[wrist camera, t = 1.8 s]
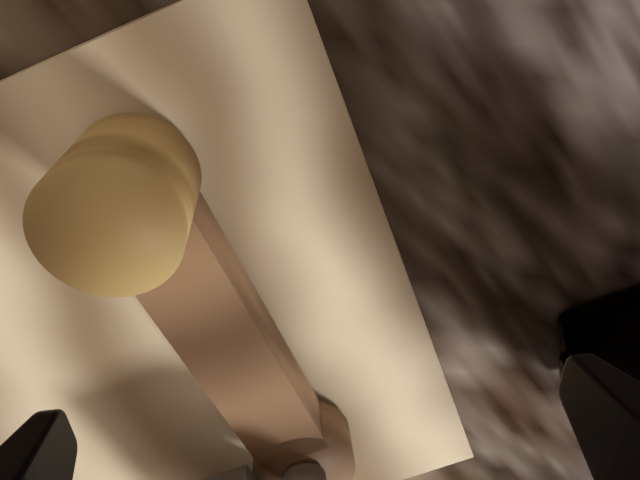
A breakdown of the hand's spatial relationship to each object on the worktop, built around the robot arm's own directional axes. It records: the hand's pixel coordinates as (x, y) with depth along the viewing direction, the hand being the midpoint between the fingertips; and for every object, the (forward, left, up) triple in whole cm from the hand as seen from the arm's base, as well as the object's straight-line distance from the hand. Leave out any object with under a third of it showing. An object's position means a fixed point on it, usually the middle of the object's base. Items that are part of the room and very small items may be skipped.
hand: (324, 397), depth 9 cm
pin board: (+10, +6, -11) cm, 16 cm away
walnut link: (+5, +5, -9) cm, 12 cm away
